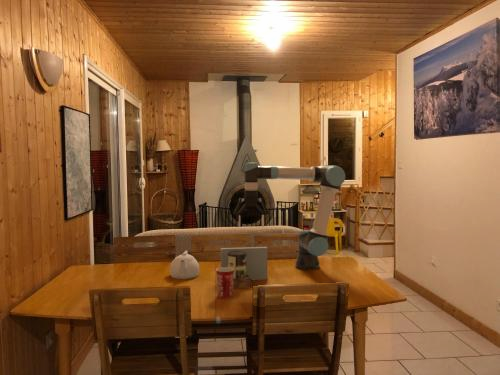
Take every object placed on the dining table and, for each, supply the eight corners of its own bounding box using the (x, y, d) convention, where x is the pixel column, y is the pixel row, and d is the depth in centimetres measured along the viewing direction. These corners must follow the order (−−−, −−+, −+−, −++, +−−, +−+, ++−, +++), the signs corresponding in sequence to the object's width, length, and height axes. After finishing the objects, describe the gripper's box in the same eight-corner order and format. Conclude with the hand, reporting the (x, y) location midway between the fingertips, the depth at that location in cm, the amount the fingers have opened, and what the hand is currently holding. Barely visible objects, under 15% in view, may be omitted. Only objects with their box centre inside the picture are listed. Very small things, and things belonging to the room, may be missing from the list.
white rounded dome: (207, 275, 252) (207, 252, 251) (182, 282, 238) (181, 257, 237) (187, 269, 264) (186, 247, 263) (162, 275, 251) (161, 252, 250)
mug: (214, 293, 217) (214, 267, 216) (232, 292, 219) (232, 266, 218) (218, 302, 205) (217, 274, 204) (236, 300, 206) (236, 273, 206)
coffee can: (248, 276, 238) (248, 251, 237) (244, 281, 228) (244, 255, 227) (230, 275, 240) (230, 250, 239) (225, 280, 230) (225, 254, 229)
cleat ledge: (248, 280, 242) (248, 271, 241) (251, 287, 228) (251, 278, 227) (223, 281, 240) (222, 272, 239) (225, 288, 226) (225, 279, 225)
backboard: (266, 278, 245) (266, 246, 244) (267, 279, 243) (267, 247, 242) (220, 280, 241) (220, 248, 240) (221, 281, 239) (221, 249, 238)
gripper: (271, 189, 252) (271, 225, 253) (228, 189, 248) (228, 226, 250) (273, 189, 245) (273, 227, 246) (230, 190, 241) (230, 228, 242)
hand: (251, 226), depth 248 cm, fingers open, 13 cm apart
